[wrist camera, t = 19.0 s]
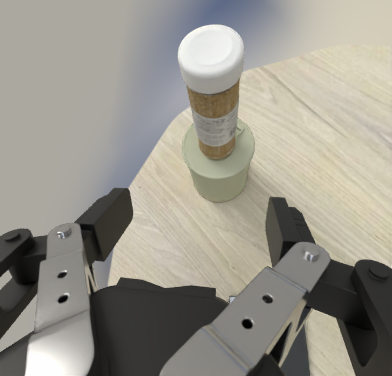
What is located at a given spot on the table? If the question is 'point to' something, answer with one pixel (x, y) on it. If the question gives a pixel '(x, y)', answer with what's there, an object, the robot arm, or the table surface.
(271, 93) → the table surface
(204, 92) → the sprinkles bottle
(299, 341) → the slate coaster
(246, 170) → the can
